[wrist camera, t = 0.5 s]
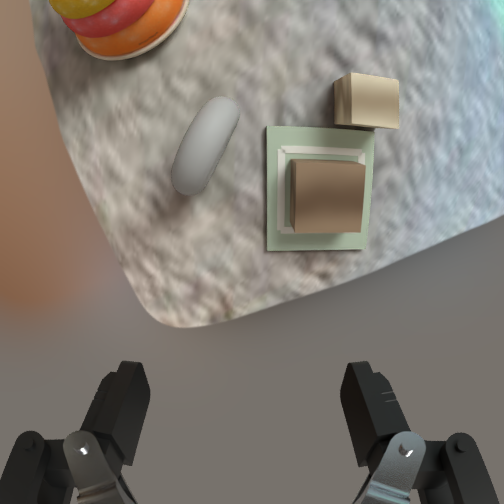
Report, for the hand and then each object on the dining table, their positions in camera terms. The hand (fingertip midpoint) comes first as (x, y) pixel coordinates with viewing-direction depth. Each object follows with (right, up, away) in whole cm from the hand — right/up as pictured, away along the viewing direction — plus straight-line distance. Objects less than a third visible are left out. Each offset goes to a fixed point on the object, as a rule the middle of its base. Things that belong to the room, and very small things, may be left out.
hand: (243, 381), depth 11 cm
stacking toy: (-13, +33, +14) cm, 38 cm away
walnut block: (+8, +12, +22) cm, 26 cm away
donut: (-4, +17, +21) cm, 27 cm away
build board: (+8, +12, +22) cm, 27 cm away
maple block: (+12, +21, +19) cm, 31 cm away
